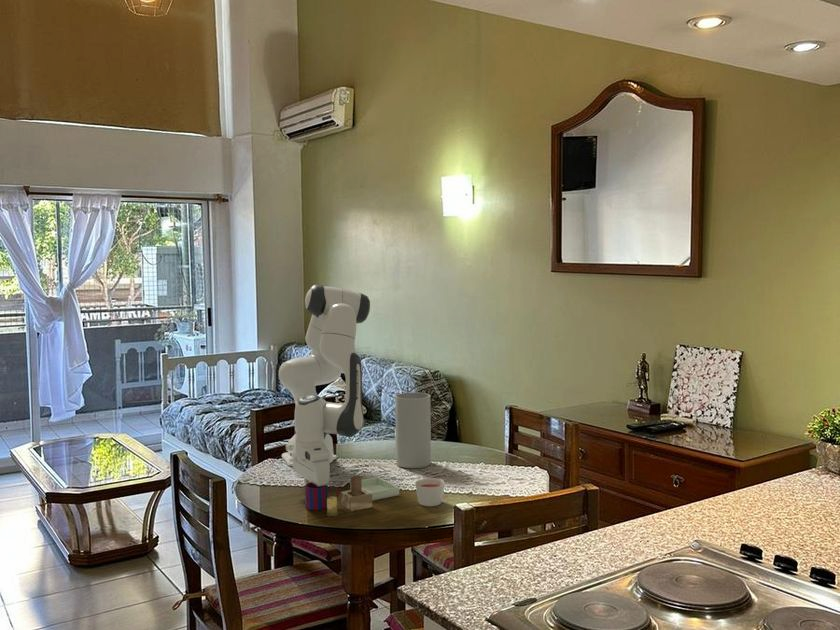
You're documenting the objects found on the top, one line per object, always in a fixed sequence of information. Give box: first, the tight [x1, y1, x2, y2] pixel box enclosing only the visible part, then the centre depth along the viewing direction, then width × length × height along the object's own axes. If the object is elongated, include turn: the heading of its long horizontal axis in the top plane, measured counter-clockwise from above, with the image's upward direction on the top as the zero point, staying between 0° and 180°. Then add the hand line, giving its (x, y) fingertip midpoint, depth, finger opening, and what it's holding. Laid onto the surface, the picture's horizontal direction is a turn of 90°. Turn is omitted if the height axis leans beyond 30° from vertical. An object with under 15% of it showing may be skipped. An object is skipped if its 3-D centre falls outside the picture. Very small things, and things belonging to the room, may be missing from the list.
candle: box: [414, 477, 446, 507], centre depth 234 cm, size 9×9×6 cm
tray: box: [349, 476, 400, 501], centre depth 245 cm, size 13×10×2 cm
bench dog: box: [326, 496, 338, 517], centre depth 225 cm, size 3×3×5 cm
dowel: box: [350, 474, 362, 496], centre depth 232 cm, size 3×3×9 cm
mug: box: [304, 482, 339, 511], centre depth 231 cm, size 7×10×7 cm
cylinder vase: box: [394, 391, 432, 470], centre depth 276 cm, size 12×12×25 cm
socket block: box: [340, 489, 373, 512], centre depth 232 cm, size 7×7×4 cm
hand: (310, 492), depth 237 cm, fingers closed
